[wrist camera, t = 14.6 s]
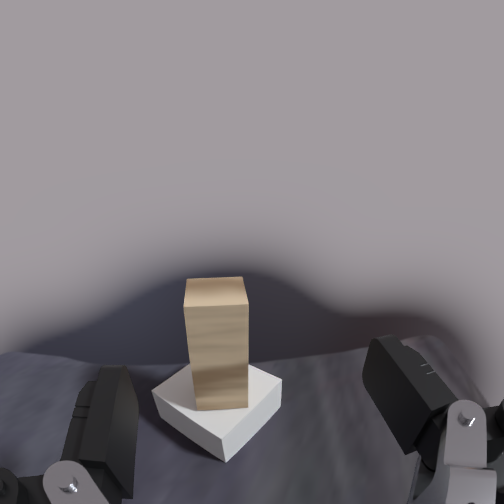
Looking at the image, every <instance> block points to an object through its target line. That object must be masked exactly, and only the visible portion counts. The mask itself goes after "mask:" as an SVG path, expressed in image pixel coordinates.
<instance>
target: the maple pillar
mask: <svg viewBox="0 0 504 504" xmlns="http://www.w3.org/2000/svg"><path fill="white" fill-rule="evenodd" d="M184 313H185V314H184V315H185V323H186V332H187V341H188V348H189V356H190V364H191V371H192V379H193V385H194V392H195V399H196V405H197V410H217V409H234V408H248V332H249V330H248V328H249V325H248V323H249V320H248V319H249V315H248V314H249V304H248V299H247V295H246V291H245V287H244V283H243V278H242V277H225V278H201V279H187V284H186V291H185V300H184Z"/></svg>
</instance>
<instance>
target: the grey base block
mask: <svg viewBox="0 0 504 504" xmlns="http://www.w3.org/2000/svg"><path fill="white" fill-rule="evenodd" d="M281 388H282V379H280V378H277V377H275V376H273V375H271V374H268V373H266V372H264V371H262V370H260V369H257V368H255V367H253V366H251V365H249V364H248V408H234V409H217V410H197V405H196V399H195V392H194V385H193V379H192V371H191V364H189V365H187V366H186V367H184V368H183V369H182V370H180V371H179V372H177V373H176V374H174V375H173V376H172V377H170V378H169V379H167V380H166V381H164V382H163V383H162V384H160V385H159V386H157V387H156V388H154V389H153V390H151V391H152V394H153V397H154V400H155V403H156V406H157V409H158V412H159V415H160V417H161V418H162V419H164V420H165V421H166V422H167V423H169V424H170V425H171V426H173V427H174V428H175V429H177V430H178V431H180V432H181V433H182V434H184V435H185V436H186V437H188V438H189V439H191V440H192V441H193V442H195V443H196V444H198V445H199V446H201V447H202V448H204V449H205V450H207V451H208V452H210V453H211V454H213V455H214V456H216V457H217V458H219V459H220V460H222V461H224V462H225V463H226V462H227V461H228V460H229V459H230V458H231V457H232V456H234V455H235V454H236V453H237V452H238V451H239V450H240V449H241V448H242V447H243V446H244V445H245V444H246V443H247V442H248V441H249V440H250V439H251V438H252V437H253V435H254V434H255V433H256V432H257V431H258V430H259V429H260V428H261V427H262V426H263V425H264V424H265V423H266V422H267V421H268V420H269V419H270V418H271V416H272V415H273V414H274V413H275V412H276V411H277V410H278V409H279V408H280V407H281Z"/></svg>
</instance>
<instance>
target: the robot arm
mask: <svg viewBox="0 0 504 504" xmlns="http://www.w3.org/2000/svg"><path fill="white" fill-rule="evenodd" d="M362 378H363V383H364V386H365V388H366V390H367V391H368V393H369V395H370V396H371V398H372V400H373V401H374V403H375V405H376V406H377V408H378V410H379V411H380V413H381V415H382V416H383V418H384V420H385V421H386V423H387V425H388V427H389V428H390V430H391V432H392V433H393V435H394V437H395V438H396V440H397V442H398V444H399V445H400V447H401V449H402V450H403V452H404V454H405V455H407V454H409V453H412V452H414V451H418V453H419V457H418V459H417V462H416V467H415V472H414V477H413V481H412V485H411V490H410V494H409V498H408V501H407V504H504V399H503V401H502V402H501V404H500V405H499V406H494V407H488V408H481V407H480V406H479V405H478V404H476V403H474V402H472V401H469V400H458V399H457V398H456V397H455V395H454V394H453V393H452V392H451V390H450V389H449V388H448V387H447V386H446V384H445V383H444V382H443V381H442V379H441V378H440V377H439V376H438V375H437V374H436V372H434V370H433V369H432V368H431V366H430V365H429V364H428V365H427V362H426V361H425V359H424V358H423V357H422V356H421V355H420V354H419V353H418V352H417V351H415V350H414V349H412V348H410V347H409V346H404V345H403V344H402V343H401V342H400V341H399V340H398V338H397V337H396V336H394V335H387V336H382V337H378V338H374V339H372V340H371V342H370V345H369V349H368V353H367V356H366V360H365V364H364V368H363V372H362ZM75 406H76V408H74V411H73V415H72V417H73V418H72V419H71V422H70V426H69V429H68V433H67V437H66V441H65V445H64V449H63V453H62V457H61V460H60V461H59V462H57V463H54V464H53V465H51V466H50V467H49V468H48V469H47V471H46V472H45V474H44V475H39V476H31V477H21V478H17V477H16V476H15V475H14V474H13V473H12V472H10V471H9V470H7V469H5V468H0V504H121V502H122V498H124V499H133V484H134V467H135V453H136V441H137V430H138V420H139V405H138V399H137V396H136V393H135V390H134V387H133V385H132V382H131V379H130V376H129V373H128V370H127V367H126V366H125V365H103V366H102V367H101V369H100V372H99V375H98V379H97V381H88V382H87V384H86V385H85V386H84V387H83V388H82V390H81V391H80V392H79V394H78V398H77V401H76V404H75Z"/></svg>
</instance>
